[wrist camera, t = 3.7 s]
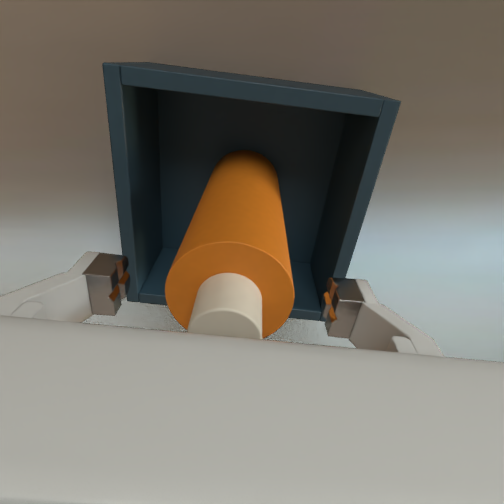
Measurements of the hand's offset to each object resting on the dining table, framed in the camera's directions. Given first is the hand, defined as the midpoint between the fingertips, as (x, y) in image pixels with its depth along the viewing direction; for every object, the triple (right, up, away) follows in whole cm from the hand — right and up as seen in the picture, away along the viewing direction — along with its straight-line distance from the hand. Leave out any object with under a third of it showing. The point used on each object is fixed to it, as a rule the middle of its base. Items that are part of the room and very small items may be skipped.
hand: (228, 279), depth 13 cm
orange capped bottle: (0, +6, +10) cm, 12 cm away
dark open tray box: (0, +6, +10) cm, 12 cm away
